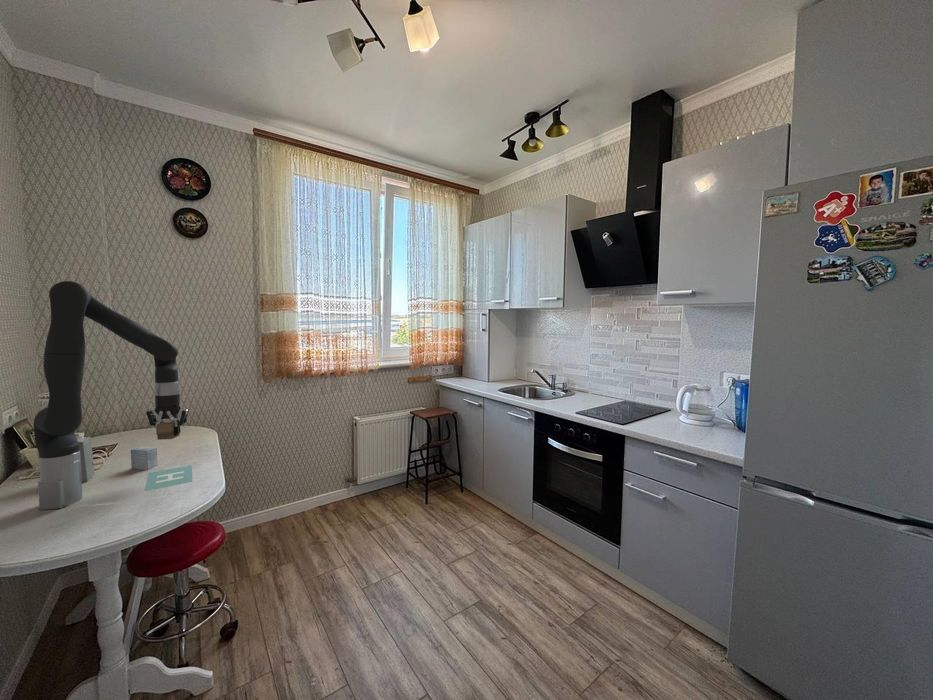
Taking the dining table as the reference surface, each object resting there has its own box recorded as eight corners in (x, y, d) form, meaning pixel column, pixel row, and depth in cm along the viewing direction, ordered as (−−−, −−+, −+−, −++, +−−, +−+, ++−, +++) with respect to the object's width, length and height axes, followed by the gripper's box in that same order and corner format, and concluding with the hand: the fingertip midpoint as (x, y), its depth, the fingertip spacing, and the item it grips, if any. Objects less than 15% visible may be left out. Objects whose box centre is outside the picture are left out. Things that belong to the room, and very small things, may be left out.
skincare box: (87, 482, 139) (85, 441, 138) (61, 485, 136) (58, 444, 135) (95, 473, 147) (93, 435, 146) (70, 477, 143) (68, 438, 142)
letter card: (192, 482, 141) (192, 481, 141) (144, 492, 132) (144, 491, 132) (191, 465, 157) (191, 465, 157) (149, 473, 148) (149, 472, 148)
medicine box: (158, 466, 155) (157, 447, 154) (148, 471, 151) (147, 450, 150) (141, 465, 156) (140, 446, 155) (131, 469, 151) (130, 449, 151)
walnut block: (172, 439, 141) (171, 424, 141) (157, 439, 140) (156, 424, 140) (179, 435, 146) (179, 420, 146) (165, 435, 145) (165, 421, 145)
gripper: (139, 395, 137) (141, 439, 138) (182, 394, 140) (183, 437, 141) (152, 391, 145) (154, 433, 146) (193, 391, 147) (194, 432, 148)
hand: (168, 435), depth 143 cm, fingers closed on walnut block, 5 cm apart
